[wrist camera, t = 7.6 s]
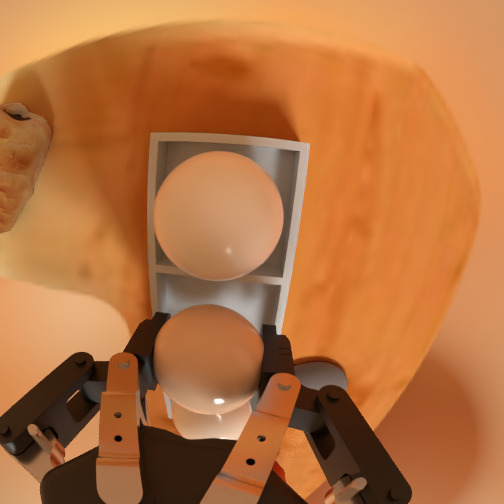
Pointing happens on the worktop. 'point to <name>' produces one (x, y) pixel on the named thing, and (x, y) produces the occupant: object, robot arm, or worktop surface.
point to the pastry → (19, 158)
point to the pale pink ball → (208, 359)
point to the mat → (320, 375)
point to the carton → (266, 275)
